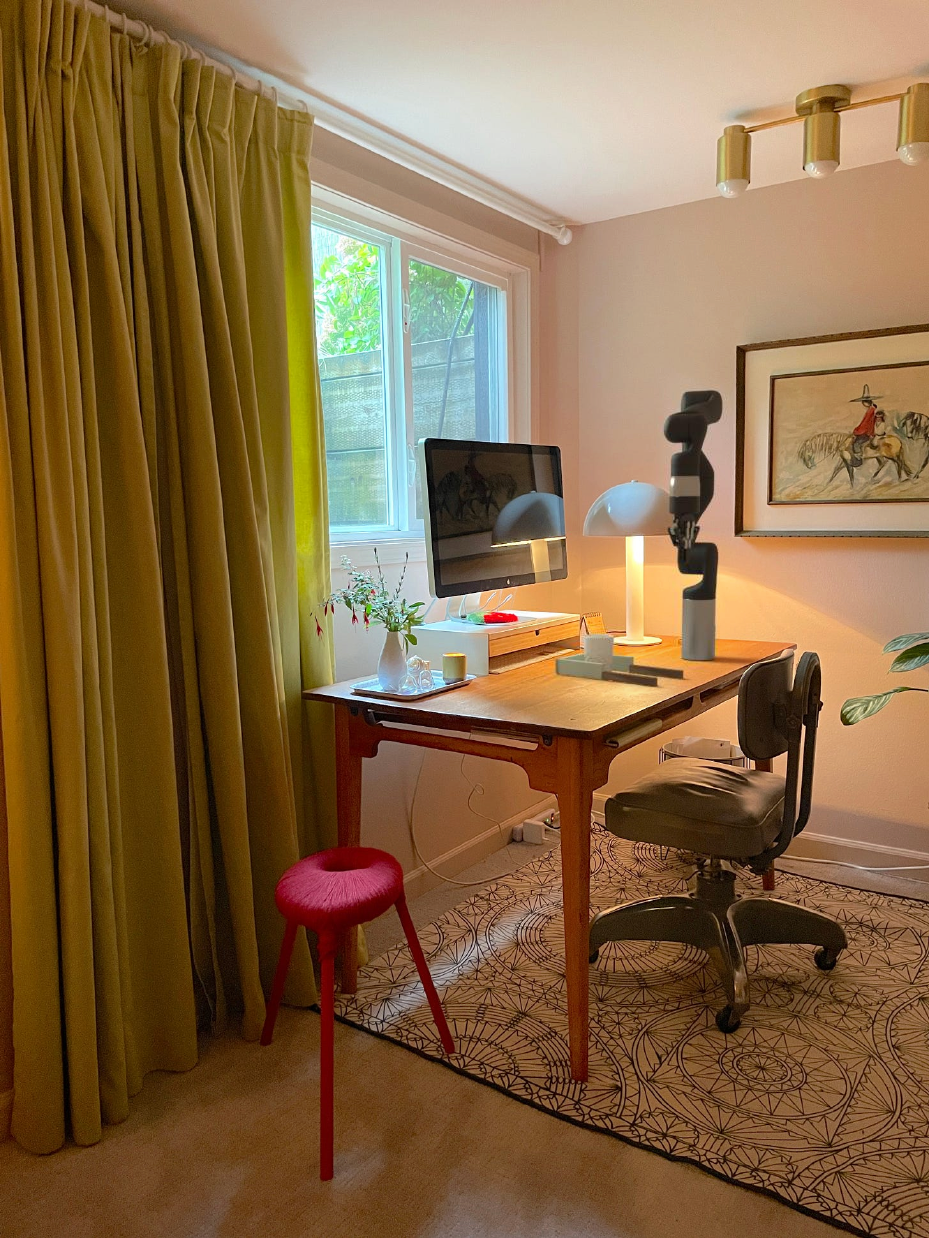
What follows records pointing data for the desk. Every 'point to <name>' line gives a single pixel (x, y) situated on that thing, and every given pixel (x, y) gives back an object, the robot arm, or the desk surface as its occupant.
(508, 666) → the desk surface
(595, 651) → the white cup
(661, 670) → the channel
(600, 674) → the tray
